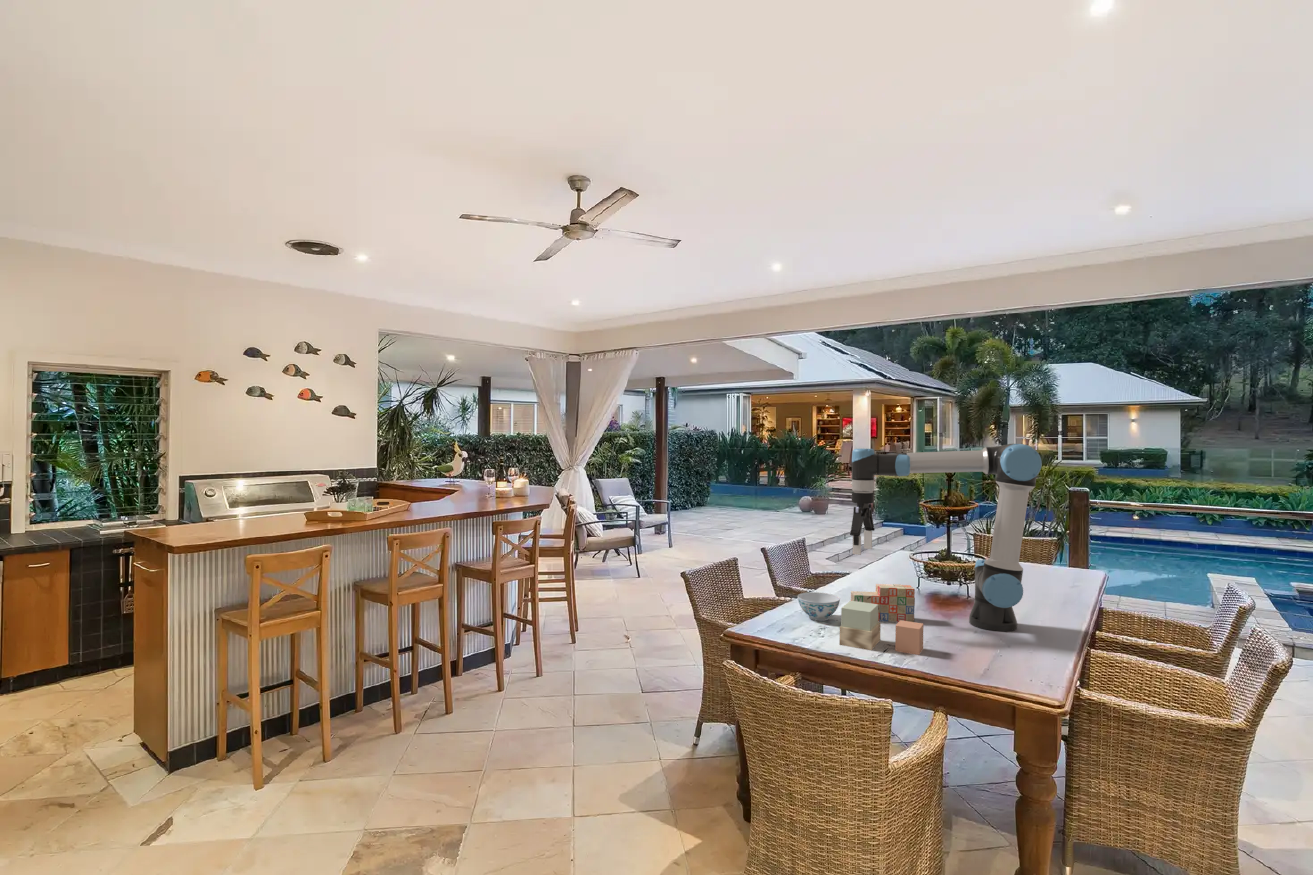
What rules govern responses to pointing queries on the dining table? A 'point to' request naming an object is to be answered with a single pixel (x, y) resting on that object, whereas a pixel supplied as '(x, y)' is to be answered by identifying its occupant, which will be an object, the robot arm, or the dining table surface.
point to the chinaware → (818, 604)
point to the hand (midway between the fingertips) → (862, 551)
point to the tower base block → (860, 637)
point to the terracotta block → (909, 637)
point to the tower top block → (859, 615)
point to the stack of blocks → (890, 601)
